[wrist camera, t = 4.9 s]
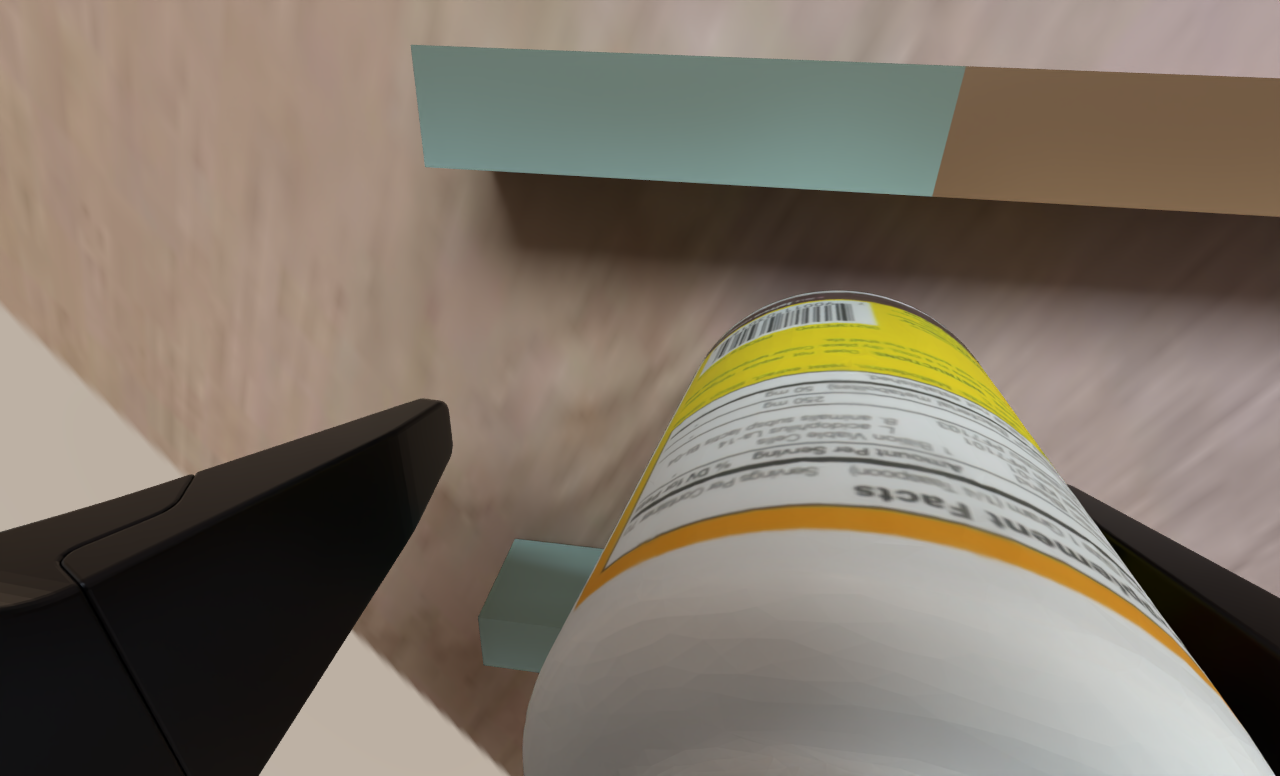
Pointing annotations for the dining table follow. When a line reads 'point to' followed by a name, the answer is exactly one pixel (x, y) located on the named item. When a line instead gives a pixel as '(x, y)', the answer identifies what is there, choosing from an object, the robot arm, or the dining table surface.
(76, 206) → the dining table surface
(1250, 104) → the bay
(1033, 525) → the supplement bottle
